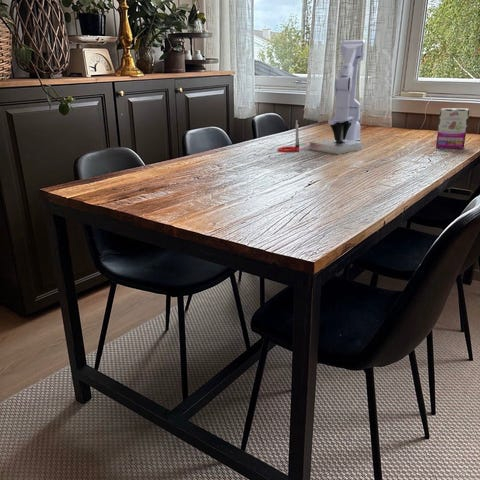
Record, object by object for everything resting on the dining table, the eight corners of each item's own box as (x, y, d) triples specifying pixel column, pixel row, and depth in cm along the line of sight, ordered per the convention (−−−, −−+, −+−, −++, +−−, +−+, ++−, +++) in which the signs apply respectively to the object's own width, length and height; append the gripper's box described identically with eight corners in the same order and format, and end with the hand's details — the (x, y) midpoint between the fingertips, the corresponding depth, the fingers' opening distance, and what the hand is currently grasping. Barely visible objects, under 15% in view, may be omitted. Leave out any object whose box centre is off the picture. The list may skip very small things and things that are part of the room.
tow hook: (278, 153, 200) (300, 152, 199) (277, 122, 195) (299, 121, 194) (277, 149, 208) (298, 148, 207) (276, 120, 203) (298, 118, 202)
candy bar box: (463, 147, 202) (469, 108, 196) (463, 149, 198) (470, 109, 191) (435, 145, 206) (440, 107, 200) (435, 148, 201) (440, 108, 195)
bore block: (332, 144, 214) (333, 137, 213) (362, 148, 203) (362, 141, 202) (309, 149, 204) (309, 142, 203) (338, 154, 193) (339, 147, 192)
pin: (338, 146, 204) (339, 125, 201) (344, 146, 202) (345, 125, 198) (334, 146, 202) (335, 125, 199) (339, 147, 200) (340, 126, 197)
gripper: (345, 105, 203) (343, 136, 208) (323, 108, 194) (321, 141, 199) (358, 106, 198) (356, 138, 203) (336, 109, 189) (334, 143, 194)
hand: (339, 140), depth 201 cm, fingers closed on pin, 3 cm apart
